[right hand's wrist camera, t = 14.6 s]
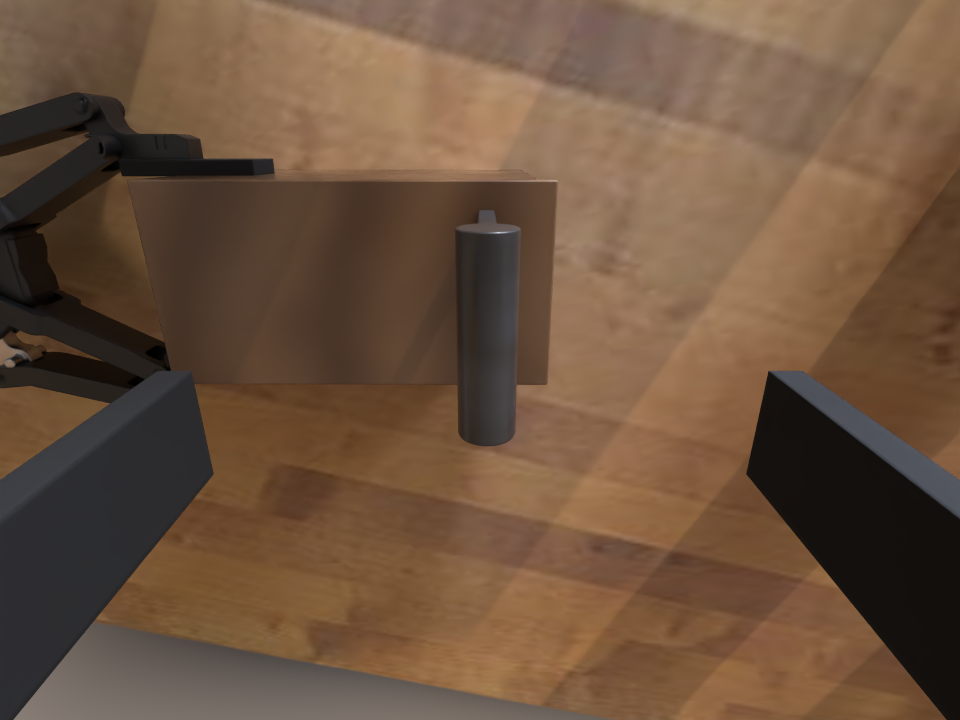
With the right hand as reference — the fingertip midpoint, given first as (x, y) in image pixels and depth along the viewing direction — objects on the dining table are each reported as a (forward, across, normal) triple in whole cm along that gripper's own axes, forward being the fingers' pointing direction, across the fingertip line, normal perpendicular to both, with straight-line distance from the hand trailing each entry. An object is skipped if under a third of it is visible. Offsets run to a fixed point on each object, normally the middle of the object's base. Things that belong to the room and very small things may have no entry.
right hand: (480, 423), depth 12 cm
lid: (+13, -6, 0) cm, 15 cm away
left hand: (+18, -11, 0) cm, 21 cm away
